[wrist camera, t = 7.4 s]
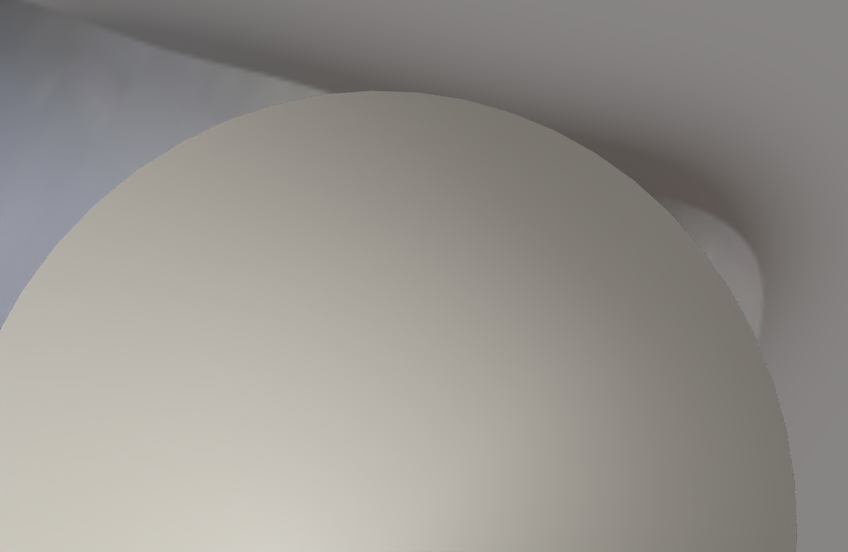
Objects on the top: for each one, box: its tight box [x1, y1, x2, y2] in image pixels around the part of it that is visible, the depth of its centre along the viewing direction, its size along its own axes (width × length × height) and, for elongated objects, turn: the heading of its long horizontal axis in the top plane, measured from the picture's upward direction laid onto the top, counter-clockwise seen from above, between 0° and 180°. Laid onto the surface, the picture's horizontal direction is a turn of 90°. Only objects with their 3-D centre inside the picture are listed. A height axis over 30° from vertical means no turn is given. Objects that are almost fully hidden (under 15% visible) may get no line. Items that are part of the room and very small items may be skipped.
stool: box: [0, 91, 797, 552], centre depth 9 cm, size 6×6×11 cm
